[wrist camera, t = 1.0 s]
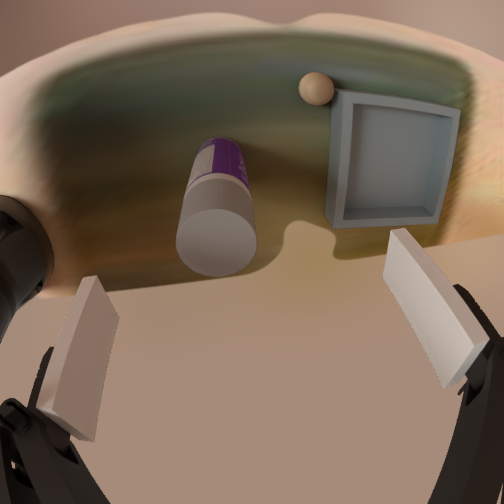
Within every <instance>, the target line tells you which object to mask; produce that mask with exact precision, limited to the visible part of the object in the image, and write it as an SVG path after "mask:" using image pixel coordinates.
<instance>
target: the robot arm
mask: <svg viewBox="0 0 504 504" xmlns="http://www.w3.org/2000/svg"><path fill="white" fill-rule="evenodd" d="M53 266H54V257H53V251H52V247H51V244H50V241H49V239H48V236H47V234H46V232H45V231H44V229H43V227H42V226H41V224H40V223H39V221H38V220H37V219H36V218H35V216H34V215H33V214H32V213H31V212H30V211H29V210H28V209H27V208H26V207H24V206H23V205H22V204H20V203H19V202H17V201H16V200H14V199H11V198H9V197H6V196H0V343H1V341H2V338H3V336H4V334H5V332H6V330H7V328H8V326H9V324H10V322H11V320H12V318H13V316H14V314H15V312H16V311H17V310H18V309H19V308H21V307H22V306H23V305H24V304H26V303H27V302H28V301H29V300H31V299H32V298H33V297H34V296H36V295H37V294H38V293H39V292H41V290H42V289H43V288H44V287H45V285H46V283H47V282H48V280H49V278H50V276H51V274H52V271H53ZM382 278H383V279H384V281H385V282H386V284H387V286H388V287H389V289H390V291H391V292H392V294H393V296H394V297H395V299H396V301H397V302H398V304H399V306H400V308H401V309H402V311H403V313H404V314H405V316H406V318H407V320H408V322H409V323H410V325H411V327H412V329H413V330H414V332H415V334H416V336H417V338H418V340H419V341H420V343H421V345H422V347H423V348H424V351H425V353H426V355H427V356H428V358H429V360H430V362H431V364H432V366H433V368H434V370H435V372H436V374H437V376H438V378H439V380H440V382H441V384H442V386H443V389H445V388H448V387H450V386H452V385H454V384H457V383H458V382H459V381H460V380H461V379H462V378H463V376H464V375H466V377H467V378H468V380H467V382H466V383H465V384H464V385H463V387H462V388H461V389H460V390H459V392H458V395H460V394H461V393H462V392H463V391H464V393H463V398H462V402H461V407H460V411H459V415H458V419H457V423H456V426H455V430H454V433H453V437H452V440H451V443H450V446H449V450H448V453H447V455H446V458H445V461H444V464H443V467H442V470H441V472H440V475H439V477H438V480H437V483H436V485H435V488H434V490H433V492H432V495H431V497H430V499H429V501H428V504H496V503H497V500H498V497H499V494H500V491H501V487H502V484H503V489H502V497H501V504H504V337H501V336H500V335H499V334H498V332H497V331H496V329H495V328H494V326H493V325H492V323H491V322H490V321H489V319H488V318H487V316H486V315H485V313H484V312H483V311H482V310H481V309H480V306H479V305H478V304H477V302H475V300H474V298H473V297H472V296H471V294H470V293H469V292H468V291H467V290H466V289H465V288H463V287H462V286H460V285H459V284H456V285H453V286H452V284H451V283H450V282H449V280H448V279H447V278H446V277H445V275H444V274H443V273H442V271H441V270H440V269H439V268H438V266H437V265H436V264H435V263H434V261H433V260H432V259H431V258H430V257H429V255H428V254H427V253H426V252H425V251H424V249H423V248H422V247H421V246H420V245H419V244H418V242H417V241H416V240H415V239H414V238H413V237H412V236H411V234H410V233H409V232H408V231H407V230H406V229H405V228H401V229H394V230H391V231H390V238H389V244H388V249H387V255H386V261H385V266H384V271H383V276H382ZM118 321H119V316H118V314H117V312H116V311H115V309H114V307H113V305H112V303H111V302H110V300H109V298H108V296H107V294H106V292H105V290H104V288H103V286H102V284H101V283H100V281H99V279H98V277H97V275H95V276H88V277H83V279H82V281H81V283H80V285H79V288H78V290H77V292H76V294H75V297H74V299H73V301H72V304H71V306H70V308H69V311H68V313H67V316H66V318H65V321H64V323H63V326H62V329H61V331H60V334H59V336H58V339H57V341H56V344H55V347H50V348H49V349H48V351H47V352H46V353H45V355H44V356H43V358H42V361H41V364H40V369H39V370H38V373H37V378H36V379H35V382H34V385H33V389H32V392H31V395H30V399H29V402H28V406H27V408H26V407H24V405H22V404H21V403H20V402H19V401H18V400H16V399H14V398H9V399H7V400H5V401H4V402H3V403H2V404H1V406H0V504H110V502H109V501H108V499H107V498H106V497H105V495H104V494H103V492H102V491H101V489H100V488H99V486H98V485H97V483H96V482H95V480H94V478H93V477H92V475H91V474H90V472H89V470H88V469H87V467H86V465H85V464H84V462H83V460H82V459H81V457H80V455H79V453H78V451H77V450H76V448H75V446H74V444H73V443H72V442H71V441H70V435H72V436H74V437H75V438H77V439H78V440H83V441H90V442H94V441H95V434H96V427H97V420H98V414H99V409H100V403H101V397H102V392H103V387H104V381H105V377H106V372H107V367H108V363H109V358H110V354H111V349H112V345H113V341H114V337H115V333H116V329H117V325H118ZM11 461H12V462H14V463H15V469H14V468H12V464H11Z"/></svg>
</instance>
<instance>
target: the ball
mask: <svg viewBox="0 0 504 504" xmlns="http://www.w3.org/2000/svg"><path fill="white" fill-rule="evenodd" d="M299 93H300V96H301V97H302V99H303V100H304V101H305V102H307V103H309V104H311V105H315V106H319V105H324V104H326V103H328V102H329V101H330V100H331V99H332V97H333V95H334V85H333V82H332V81H331V79H330V78H329V77H328V76H326V75H325V74H323V73H319V72H311V73H308V74H306V75H305V76H304V77H303V78H302V79H301V80H300V83H299Z"/></svg>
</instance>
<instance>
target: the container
mask: <svg viewBox="0 0 504 504" xmlns="http://www.w3.org/2000/svg"><path fill="white" fill-rule="evenodd" d="M256 248H257V237H256V229H255V221H254V213H253V205H252V198H251V192H250V187H249V182H248V177H247V172H246V167H245V162H244V157H243V153H242V150H241V148H240V147H239V145H238V144H237V143H236V142H234V141H233V140H231V139H229V138H225V137H215V138H211V139H209V140H207V141H206V142H204V143H203V144H202V145H201V146H200V148H199V149H198V152H197V154H196V157H195V161H194V164H193V167H192V171H191V174H190V178H189V181H188V185H187V188H186V192H185V195H184V200H183V205H182V210H181V215H180V220H179V225H178V230H177V235H176V249H177V252H178V255H179V257H180V259H181V260H182V261H183V263H184V264H185V265H186V266H187V267H189V268H190V269H192V270H193V271H195V272H197V273H199V274H202V275H206V276H211V277H222V276H228V275H231V274H234V273H236V272H238V271H240V270H242V269H243V268H244V267H246V266H247V265H248V264H249V263H250V261H251V260H252V259H253V257H254V255H255V252H256Z"/></svg>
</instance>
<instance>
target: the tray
mask: <svg viewBox="0 0 504 504" xmlns="http://www.w3.org/2000/svg"><path fill="white" fill-rule="evenodd" d="M460 111H461V110H459V109H456V108H453V107H451V106H448V105H445V104H441V103H437V102H432V101H427V100H422V99H416V98H411V97H405V96H398V95H392V94H384V93H377V92H368V91H359V90H348V89H334V95H333V97H332V101H331V129H330V148H329V165H328V179H327V192H326V204H325V217H326V218H327V220H328V222H329V224H330V225H331V227H332V229H345V228H362V227H380V226H398V225H418V224H438V221H439V218H440V214H441V210H442V206H443V202H444V199H445V194H446V190H447V186H448V182H449V177H450V172H451V168H452V163H453V157H454V152H455V146H456V140H457V134H458V127H459V119H460Z"/></svg>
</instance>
